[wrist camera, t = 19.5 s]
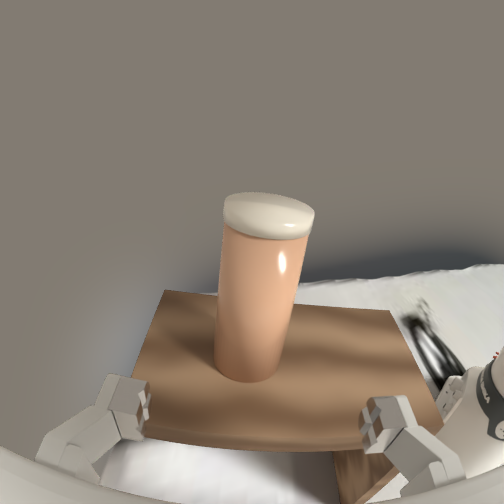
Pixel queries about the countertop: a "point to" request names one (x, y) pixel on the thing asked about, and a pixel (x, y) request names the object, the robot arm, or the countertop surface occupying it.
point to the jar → (258, 282)
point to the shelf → (283, 387)
